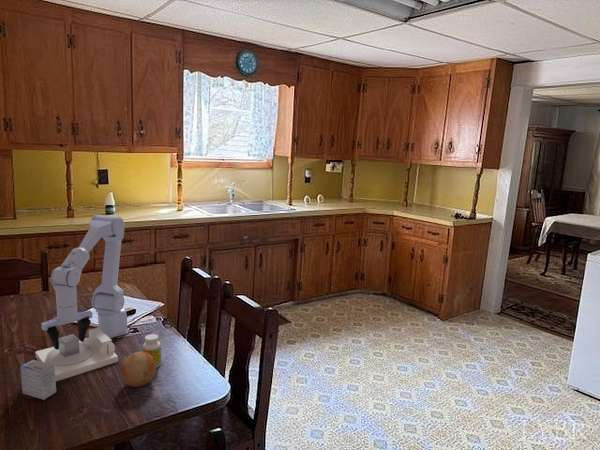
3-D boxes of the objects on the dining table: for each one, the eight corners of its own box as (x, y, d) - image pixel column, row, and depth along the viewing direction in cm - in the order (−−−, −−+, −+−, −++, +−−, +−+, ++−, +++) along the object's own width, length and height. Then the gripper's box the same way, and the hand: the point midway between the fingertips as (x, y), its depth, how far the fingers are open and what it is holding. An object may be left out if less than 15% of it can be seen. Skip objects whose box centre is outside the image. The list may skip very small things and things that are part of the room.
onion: (136, 397, 123) (135, 365, 121) (114, 385, 128) (112, 354, 126) (163, 382, 131) (162, 351, 129) (141, 371, 136) (140, 342, 134)
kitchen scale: (97, 340, 155) (96, 323, 154) (119, 361, 142) (118, 343, 140) (35, 357, 141) (34, 339, 140) (53, 382, 128) (52, 362, 127)
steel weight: (73, 348, 143) (73, 333, 142) (79, 352, 140) (78, 338, 139) (59, 352, 139) (58, 338, 138) (65, 357, 136) (64, 342, 135)
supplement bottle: (155, 370, 137) (154, 341, 136) (139, 367, 138) (139, 339, 137) (163, 361, 143) (163, 334, 141) (149, 359, 144) (148, 332, 142)
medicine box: (57, 392, 123) (55, 364, 122) (43, 401, 119) (41, 372, 118) (36, 386, 126) (33, 358, 124) (21, 394, 122) (19, 366, 120)
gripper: (84, 295, 144) (86, 333, 147) (36, 306, 133) (39, 347, 136) (94, 301, 140) (96, 340, 142) (45, 313, 129) (48, 355, 131)
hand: (69, 344), depth 139 cm, fingers open, 7 cm apart
